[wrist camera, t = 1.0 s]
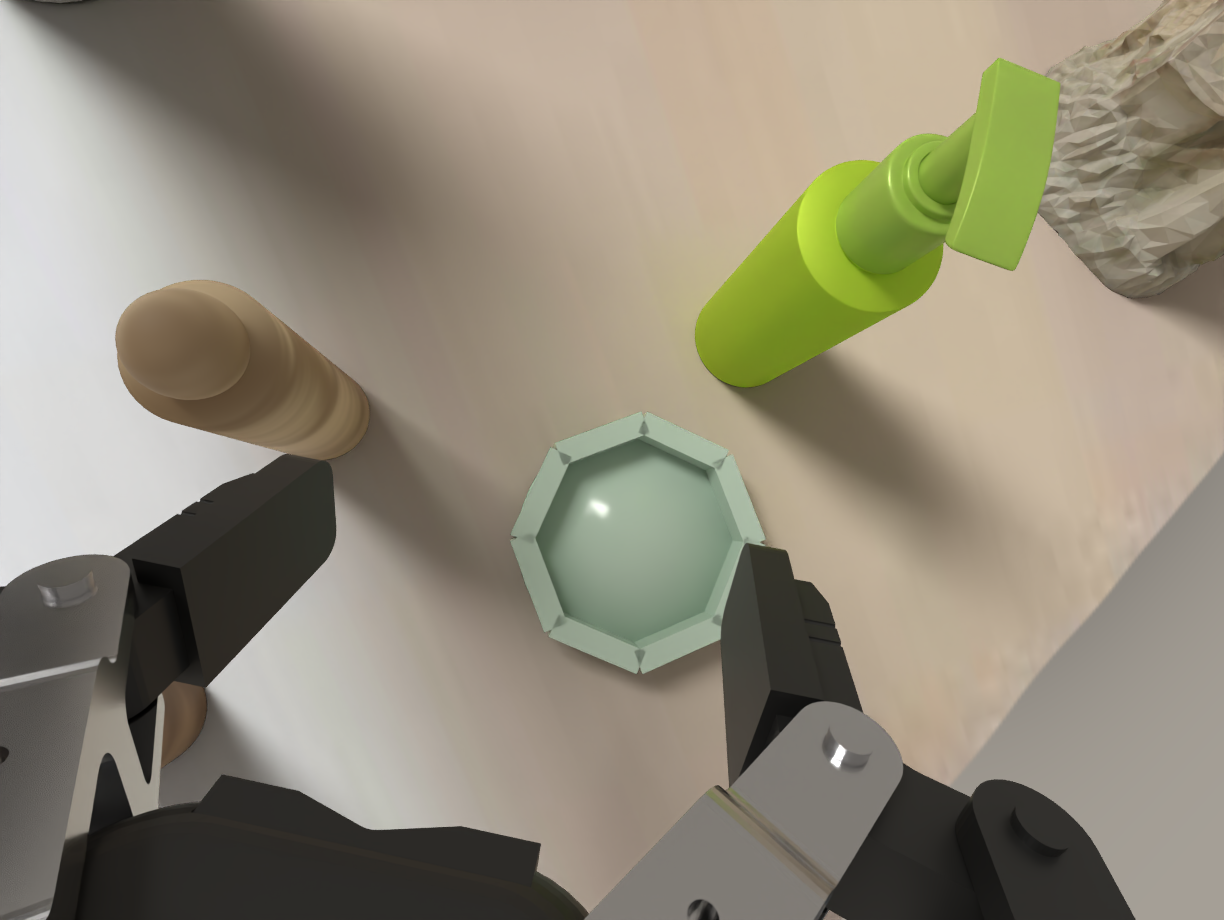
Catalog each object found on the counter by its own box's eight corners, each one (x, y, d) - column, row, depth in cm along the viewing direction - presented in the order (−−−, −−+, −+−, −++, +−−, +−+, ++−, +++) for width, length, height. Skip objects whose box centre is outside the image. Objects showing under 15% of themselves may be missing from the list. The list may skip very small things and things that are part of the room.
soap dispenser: (678, 386, 34) (892, 212, 15) (708, 275, 35) (948, -30, 15) (773, 416, 35) (1100, 289, 15) (800, 307, 36) (1141, 53, 16)
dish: (483, 471, 32) (480, 468, 30) (694, 394, 34) (707, 385, 32) (566, 694, 32) (570, 708, 29) (775, 601, 34) (794, 608, 32)
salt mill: (258, 386, 31) (33, 274, 17) (351, 356, 32) (213, 226, 17) (290, 473, 31) (90, 436, 16) (382, 441, 32) (269, 379, 17)
